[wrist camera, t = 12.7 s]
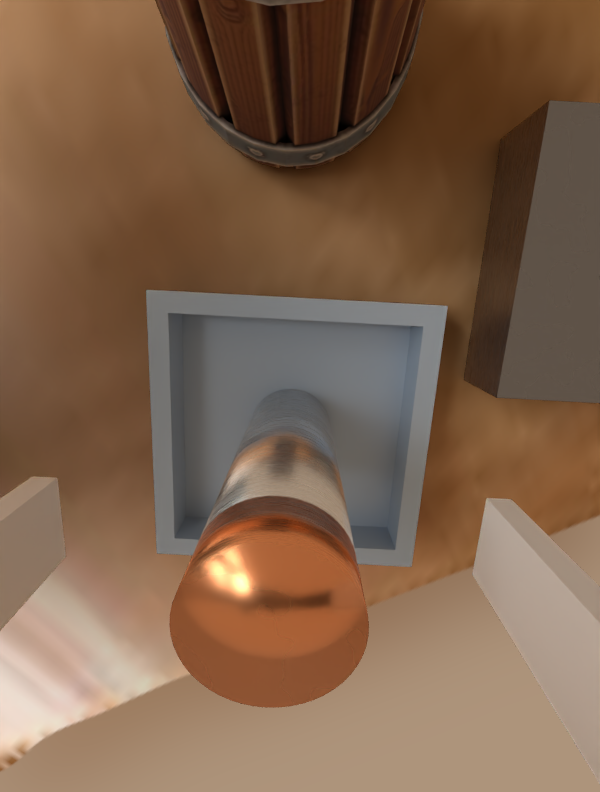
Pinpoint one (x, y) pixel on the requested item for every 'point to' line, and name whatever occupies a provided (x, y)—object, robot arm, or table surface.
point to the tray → (304, 370)
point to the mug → (293, 70)
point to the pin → (275, 568)
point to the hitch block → (542, 262)
